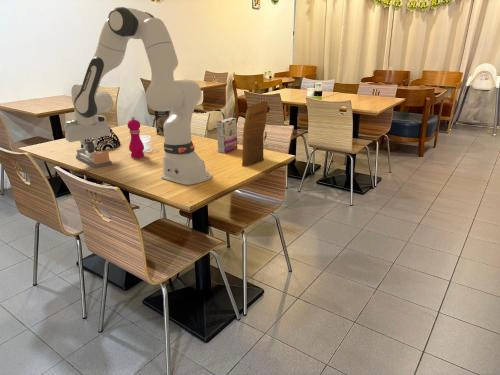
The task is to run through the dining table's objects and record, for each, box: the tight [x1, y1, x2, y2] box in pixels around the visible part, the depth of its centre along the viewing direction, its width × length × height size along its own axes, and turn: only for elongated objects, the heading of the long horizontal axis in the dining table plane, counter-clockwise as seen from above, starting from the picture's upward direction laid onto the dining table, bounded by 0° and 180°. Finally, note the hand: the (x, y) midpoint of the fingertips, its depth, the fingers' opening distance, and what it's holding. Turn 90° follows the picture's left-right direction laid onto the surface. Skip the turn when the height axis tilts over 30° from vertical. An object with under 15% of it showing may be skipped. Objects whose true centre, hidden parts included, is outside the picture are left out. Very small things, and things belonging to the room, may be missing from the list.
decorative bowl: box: [80, 126, 121, 152], centre depth 206 cm, size 20×20×14 cm
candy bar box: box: [216, 117, 238, 154], centre depth 197 cm, size 11×5×16 cm, turn 146°
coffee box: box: [154, 110, 171, 136], centre depth 233 cm, size 9×6×16 cm
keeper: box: [85, 140, 98, 158], centre depth 182 cm, size 5×4×8 cm
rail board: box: [75, 148, 113, 169], centre depth 182 cm, size 22×8×6 cm, turn 45°
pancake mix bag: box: [241, 100, 269, 167], centre depth 175 cm, size 7×19×28 cm, turn 143°
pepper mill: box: [127, 116, 145, 159], centre depth 187 cm, size 7×7×20 cm
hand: (90, 147), depth 181 cm, fingers closed on keeper, 3 cm apart
